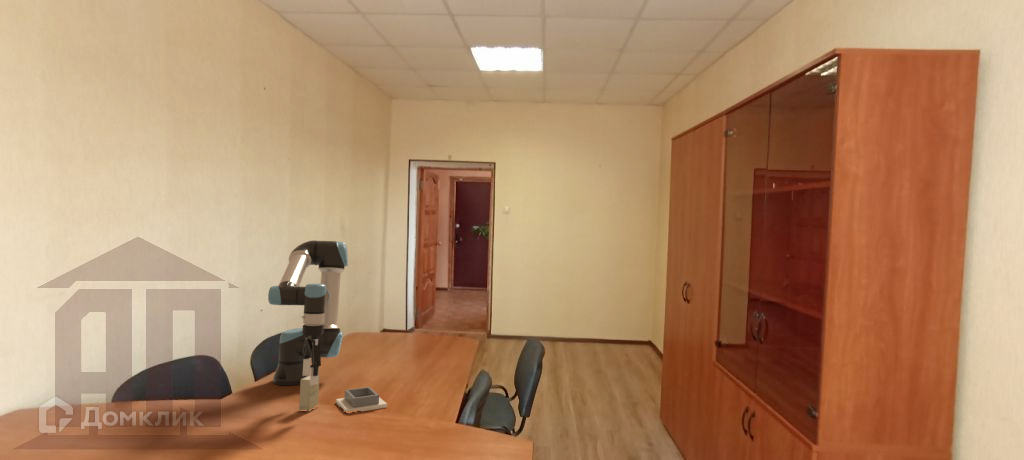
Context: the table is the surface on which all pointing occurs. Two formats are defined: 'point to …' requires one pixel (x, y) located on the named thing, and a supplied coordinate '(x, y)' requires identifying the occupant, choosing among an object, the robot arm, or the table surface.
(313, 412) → the table surface
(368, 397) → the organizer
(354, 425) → the table surface
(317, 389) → the skincare box
